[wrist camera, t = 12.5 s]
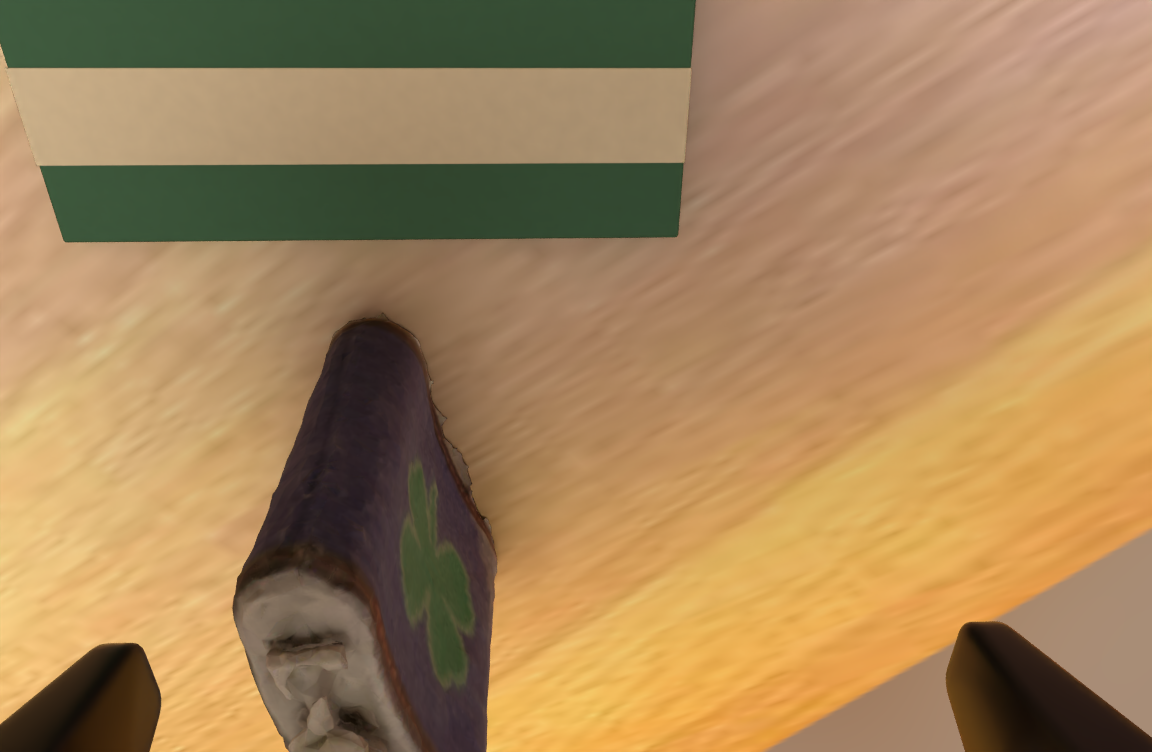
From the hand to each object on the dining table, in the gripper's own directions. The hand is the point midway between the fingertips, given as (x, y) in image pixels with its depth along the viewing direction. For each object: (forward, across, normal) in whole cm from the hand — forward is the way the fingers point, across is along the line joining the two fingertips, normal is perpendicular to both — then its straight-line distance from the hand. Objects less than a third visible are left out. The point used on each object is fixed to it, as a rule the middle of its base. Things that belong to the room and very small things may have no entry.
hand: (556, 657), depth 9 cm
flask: (+13, +4, +6) cm, 15 cm away
